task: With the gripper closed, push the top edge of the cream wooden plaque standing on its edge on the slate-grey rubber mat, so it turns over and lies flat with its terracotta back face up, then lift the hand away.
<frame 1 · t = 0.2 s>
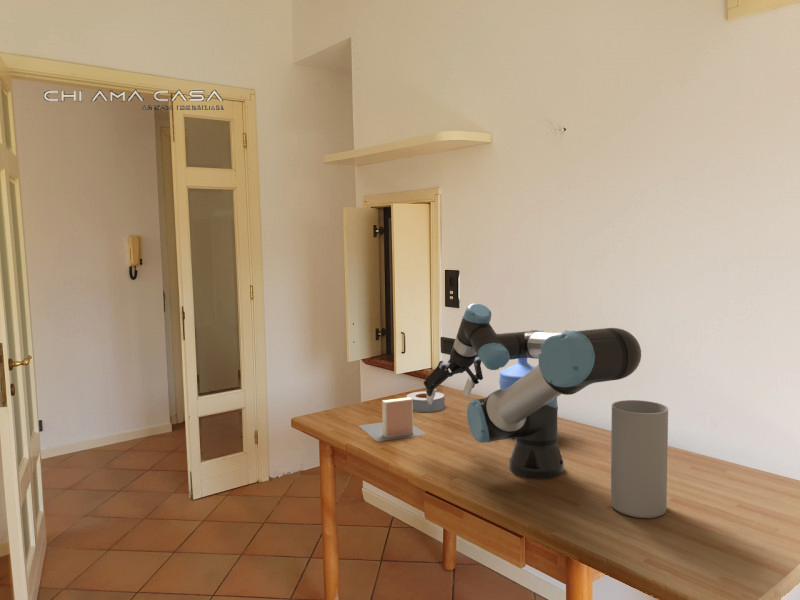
hand: (447, 397, 194), 16 cm above the table, tool tilted 35°, fingers open, 13 cm apart
wooden plaque: (398, 434, 208), resting on rubber mat
cylinder vase: (638, 509, 147), on the table
water jug: (522, 433, 209), on the table
rubber mat: (391, 431, 213), on the table
tape roll: (425, 408, 244), on the table
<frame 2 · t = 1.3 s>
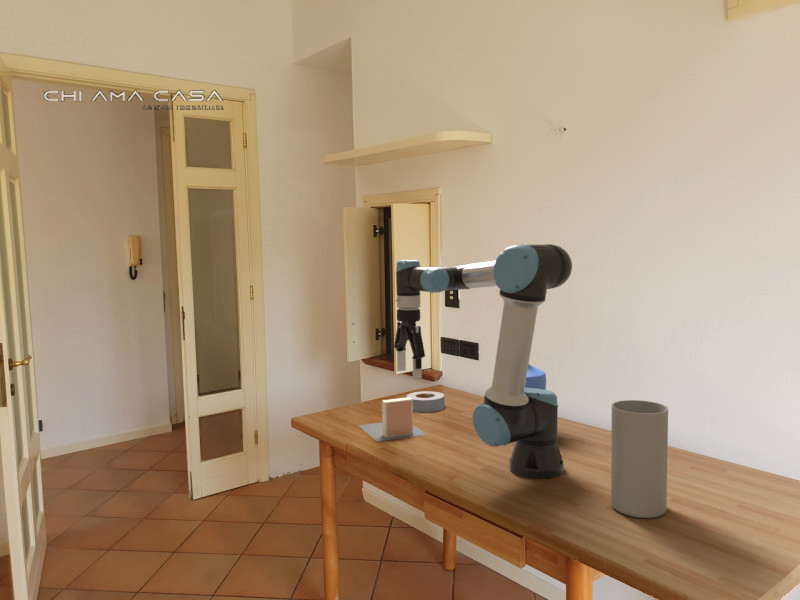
hand: (409, 374, 196), 23 cm above the table, tool pointing down, fingers open, 12 cm apart
nothing on the table moved.
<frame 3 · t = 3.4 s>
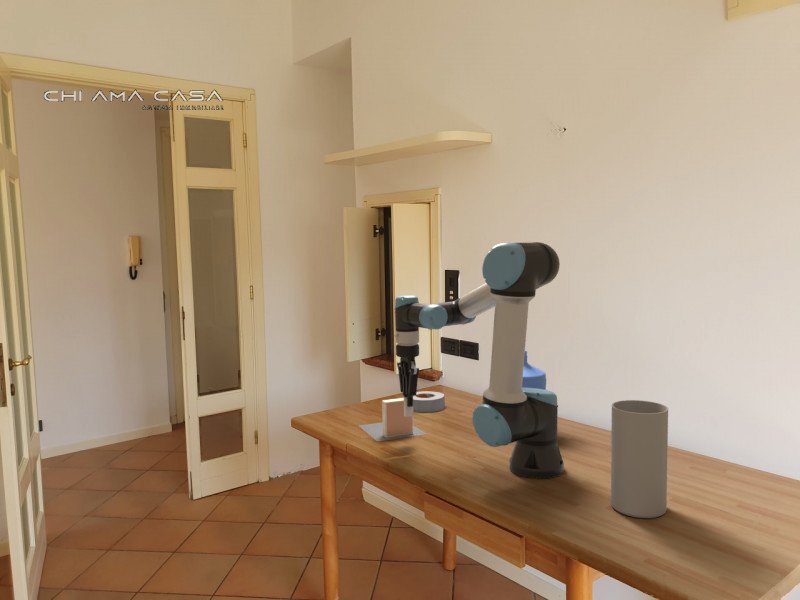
hand: (408, 415, 198), 9 cm above the table, tool pointing down, fingers closed
nothing on the table moved.
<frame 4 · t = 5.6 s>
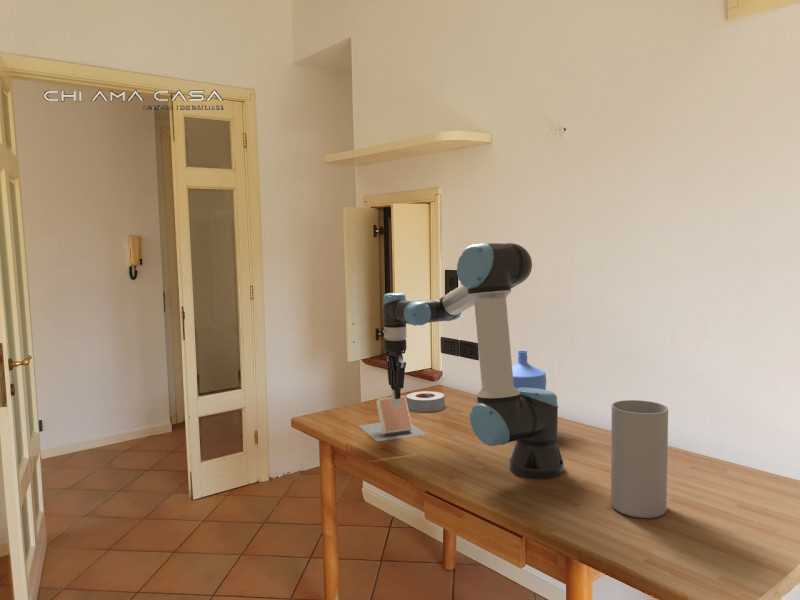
hand: (396, 407, 208), 10 cm above the table, tool pointing down, fingers closed
wooden plaque: (397, 432, 208), point 1 cm above the table, tilted 30°, touching rubber mat
everything else where it was.
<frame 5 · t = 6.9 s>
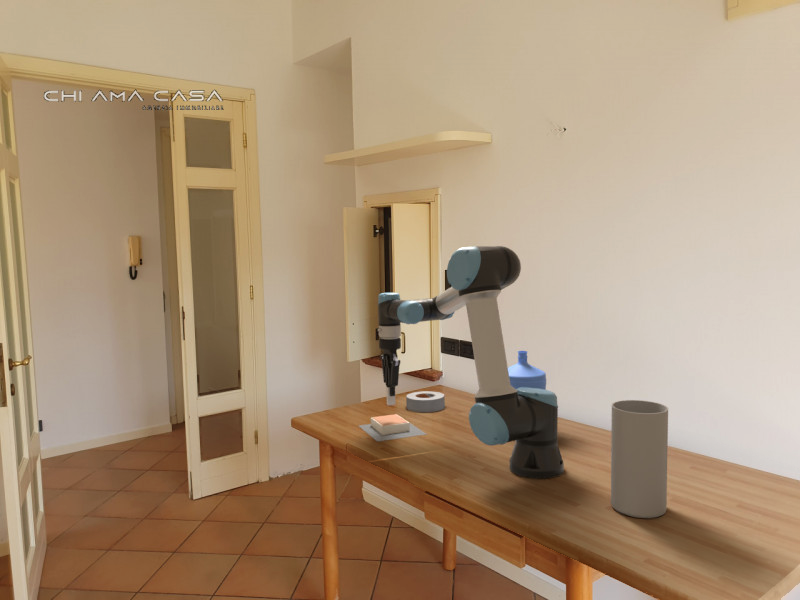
hand: (391, 404, 212), 9 cm above the table, tool pointing down, fingers closed
wooden plaque: (396, 428, 209), point 2 cm above the table, tilted 90°, touching rubber mat
everything else where it was.
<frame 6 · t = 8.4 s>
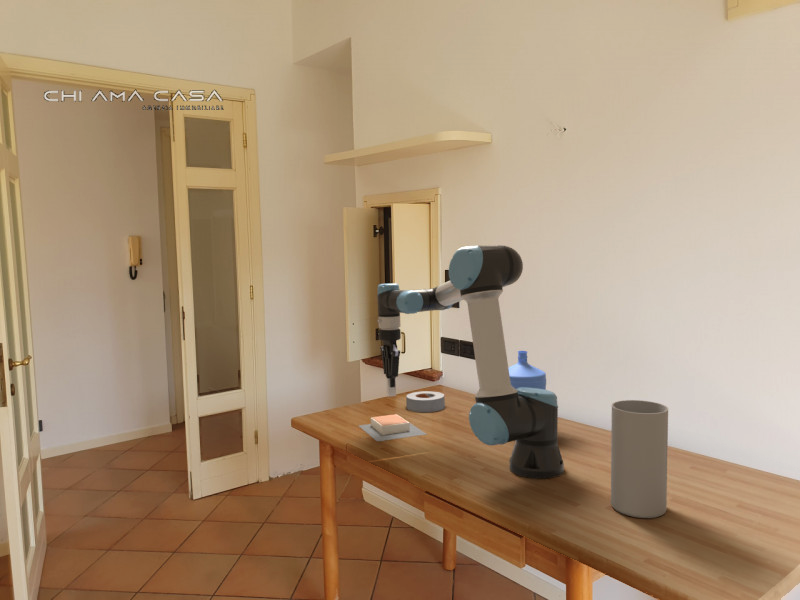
hand: (391, 395, 212), 13 cm above the table, tool pointing down, fingers closed
nothing on the table moved.
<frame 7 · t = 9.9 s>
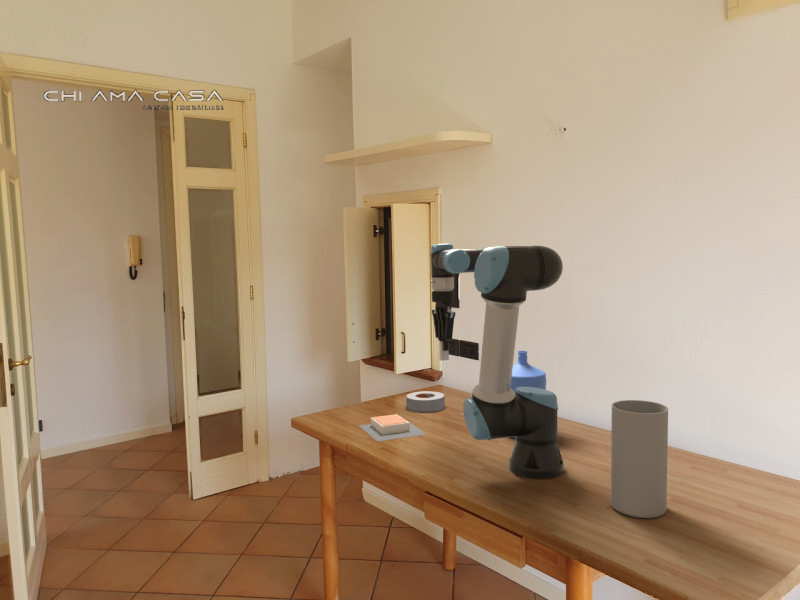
hand: (444, 359, 206), 26 cm above the table, tool pointing down, fingers closed
nothing on the table moved.
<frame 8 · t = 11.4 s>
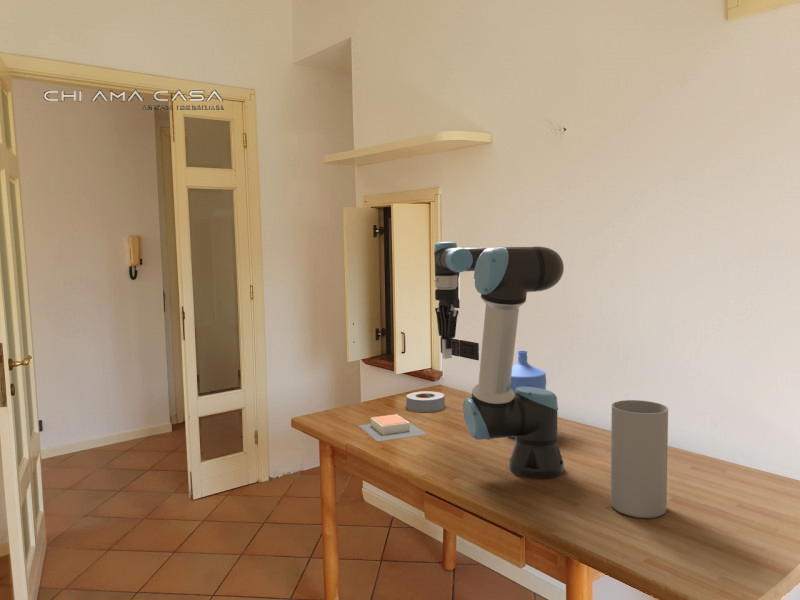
hand: (447, 358, 206), 26 cm above the table, tool pointing down, fingers closed
nothing on the table moved.
at the end: wooden plaque tilted 90°; wooden plaque inside the target area (1.4 cm from its centre), point 2.0 cm above the table; wooden plaque touching rubber mat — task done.
